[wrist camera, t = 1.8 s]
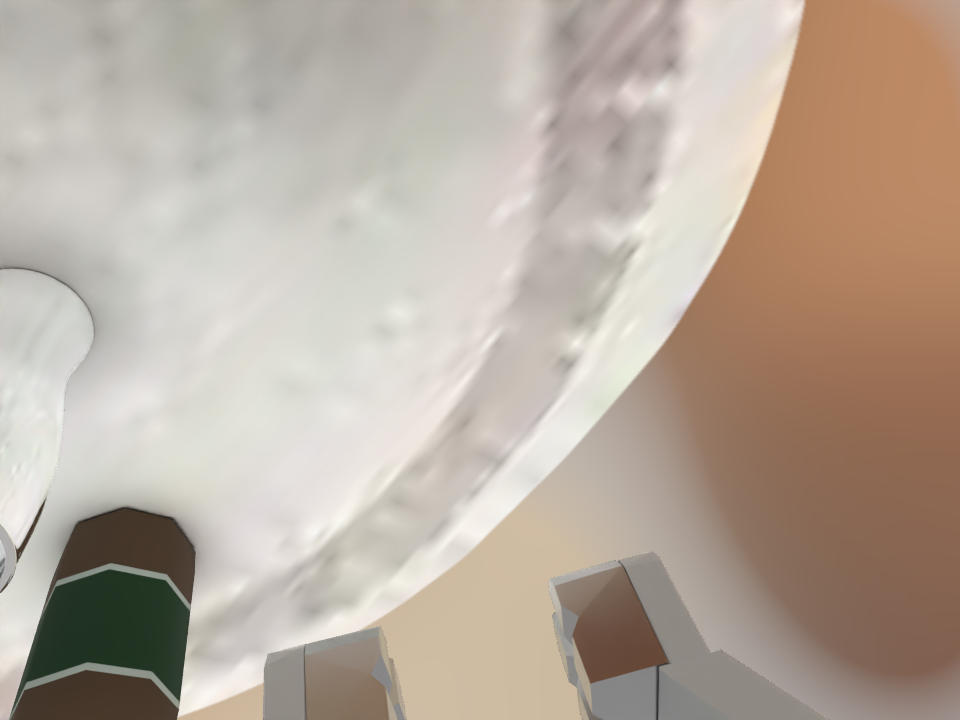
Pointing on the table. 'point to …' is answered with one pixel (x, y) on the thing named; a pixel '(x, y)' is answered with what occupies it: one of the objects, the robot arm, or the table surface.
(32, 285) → the beer glass
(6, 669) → the table surface
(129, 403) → the table surface
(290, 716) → the robot arm
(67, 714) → the beer bottle
